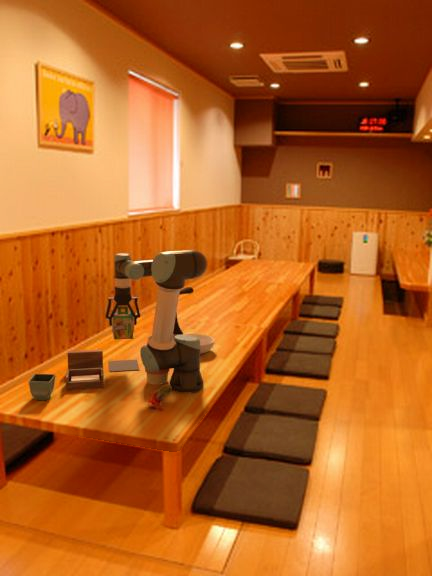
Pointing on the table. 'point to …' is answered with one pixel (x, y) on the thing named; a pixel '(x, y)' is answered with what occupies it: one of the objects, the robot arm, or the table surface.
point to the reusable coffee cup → (157, 376)
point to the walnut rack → (85, 369)
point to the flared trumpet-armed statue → (176, 325)
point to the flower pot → (42, 386)
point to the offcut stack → (84, 378)
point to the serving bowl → (204, 342)
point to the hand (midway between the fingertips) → (123, 331)
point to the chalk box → (123, 324)
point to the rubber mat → (123, 365)
